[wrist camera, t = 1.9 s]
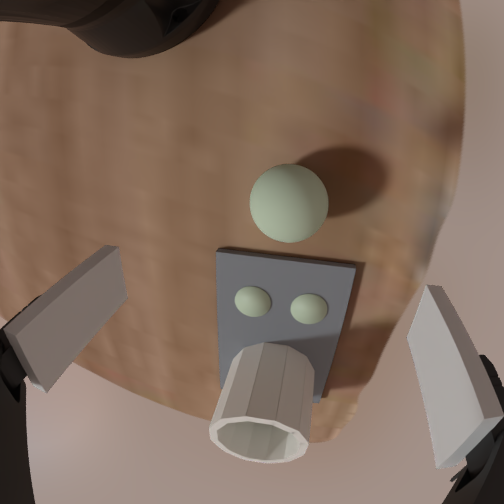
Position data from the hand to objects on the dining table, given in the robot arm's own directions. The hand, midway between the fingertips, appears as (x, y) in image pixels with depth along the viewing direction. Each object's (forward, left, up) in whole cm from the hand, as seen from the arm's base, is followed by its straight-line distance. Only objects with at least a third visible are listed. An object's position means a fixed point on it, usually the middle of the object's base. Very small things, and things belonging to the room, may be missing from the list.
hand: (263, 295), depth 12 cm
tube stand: (+16, 0, -16) cm, 22 cm away
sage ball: (0, 0, -13) cm, 13 cm away
